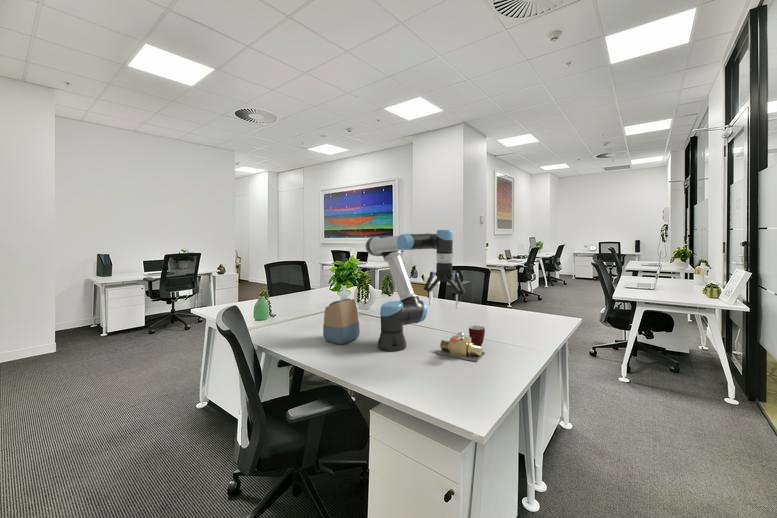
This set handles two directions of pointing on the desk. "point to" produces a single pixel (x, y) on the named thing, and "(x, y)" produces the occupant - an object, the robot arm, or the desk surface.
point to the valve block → (461, 349)
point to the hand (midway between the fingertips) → (443, 306)
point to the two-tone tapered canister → (341, 322)
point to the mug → (477, 335)
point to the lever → (457, 337)
